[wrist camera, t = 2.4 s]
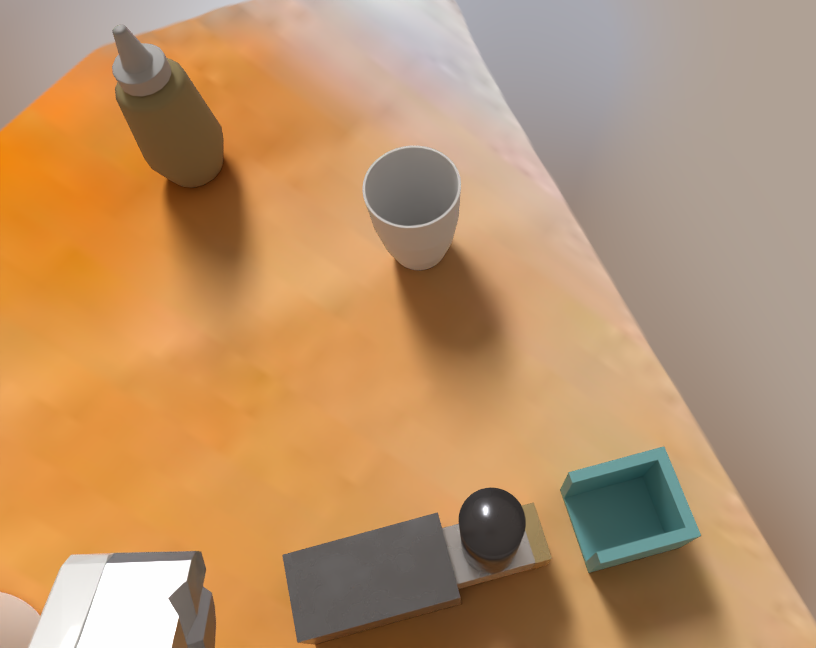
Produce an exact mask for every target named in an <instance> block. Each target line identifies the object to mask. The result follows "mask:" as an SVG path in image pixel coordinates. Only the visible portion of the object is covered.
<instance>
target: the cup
mask: <svg viewBox="0 0 816 648" xmlns="http://www.w3.org/2000/svg"><path fill="white" fill-rule="evenodd" d="M460 191H461V180H460V175H459V172H458V170H457V168H456V166H455V165H454V163H453V162H452V161H451V160H450V159H449V158H448V157H447V156H446V155H444V154H443V153H441V152H439V151H437V150H435V149H432V148H429V147H424V146H405V147H400V148H397V149H394V150H391V151H389V152H387V153H385V154H384V155H382V156H381V157H379V158H378V159H377V160H376V161H375V162H374V163H373V164H372V165H371V167H370V168H369V169H368V171H367V173H366V175H365V178H364V182H363V197H364V200H365V203H366V206H367V209H368V212H369V214H370V217H371V220H372V223H373V226H374V228H375V230H376V232H377V234H378V236H379V237H380V239H381V241H382V242H383V244H384V246H385V248H386V249H387V251H388V252H389V253H390V254H391V255H392V256H393V257H394V258H395V259H396V260H397V261H398V262H399V263H400V264H401V265H403V266H404V267H406V268H409V269H412V270H425V269H429V268H431V267H433V266H435V265H436V264H438V263H439V262H440V261H441V260H442V258H443V257H444V255H445V253H446V252H447V250H448V248H449V247H450V245H451V243H452V240H453V236H454V233H455V229H456V225H457V221H458V217H459V205H460Z"/></svg>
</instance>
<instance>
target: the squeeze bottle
mask: <svg viewBox="0 0 816 648" xmlns="http://www.w3.org/2000/svg"><path fill="white" fill-rule="evenodd" d="M113 35H114V39H115V42H116V46H117V49H118V53H119V55H118V56H117V57H116V59H115V61H114V63H113V66H112V69H113V75H114V77H115V78H116V80H117V81H118V82H117V85H116V87H115V93H116V100H117V102H118V104H119V106H120V108H121V110H122V112H123V115H124V117H125V119H126V121H127V123H128V125H129V127H130V129H131V131H132V133H133V135H134V138H135V140H136V142H137V144H138V146H139V148H140V150H141V152H142V154H143V156H144V158H145V160H146V161H147V163H148V164H149V166H150V167H151V168H152V169H153V170H154V171H156V172H158V173H159V174H161V175H163V176H164V177H166V178H167V179H169V180H171V181H172V182H174V183H176V184H178V185H180V186H182V187H191V188H194V187H198V186H202V185H205V184H206V183H208V182H209V181H211V180H213V179H214V178H215V177H216V175H217V174H218V173H219V172H220V170H221V167H222V164H223V133H222V127H221V126H220V124H219V122H218V121H217V119H216V118H215V116H214V115H213V113H212V112H211V110H210V109H209V107H208V106H207V104H206V103H205V101H204V100H203V98H202V97H201V95H200V94H199V92H198V90H197V89H196V87H195V86H194V84H193V83H192V81H191V80H190V78H189V77H188V75H187V74H186V72H185V71H184V69H183V68H182V67H181V66H180V65H179V63H177V62H175V61H173V60H171V59H168V58H166V56H165V54H164V53H163V52H162V50H161V49H160V48H159V47H157V46H155V45H152V44H142V43H140V42H139V40H138V39H137V38H136V37H135V36H134V35H133V34H132V33H131V32H130V31H129V29H128V28H127V27H126V26H125V25H117V26H116V27H115V28H114V29H113Z"/></svg>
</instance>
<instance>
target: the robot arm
mask: <svg viewBox="0 0 816 648" xmlns="http://www.w3.org/2000/svg"><path fill="white" fill-rule="evenodd" d="M205 572H206V567H205V564H204V560H203V557H202V553H201V552H199V551H185V552H140V553H107V554H79V555H70V557H69V558H68V559H67V560H66V562H65V563H64V564H63V565H62V566H61V568H60V570H59V572H58V575H57V577H56V580H55V582H54V585H53V587H52V589H51V592H50V594H49V597H48V599H47V602H46V604H45V607H44V609H43V612H42V614H41V616H40V615H39V614H38V613H37V612H36V611H35V610H34V609H33V608H32V607H31V606H30V605H29V604H27V603H26V602H24V601H23V600H21V599H19V598H17V597H15V596H13V595H10V594H6V593H2V592H0V648H215V635H216V616H215V605H214V601H213V596H212V593H211V592H210V591H209V590H207V589H206V588H204V587H203V583H204V578H205Z"/></svg>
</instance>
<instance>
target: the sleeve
mask: <svg viewBox="0 0 816 648" xmlns="http://www.w3.org/2000/svg"><path fill="white" fill-rule="evenodd" d="M283 561H284V566H285V572H286V578H287V584H288V590H289V596H290V601H291V607H292V613H293V619H294V625H295V631H296V636H297V642H298V643H305V644H318V643H322V642H326V641H329V640H333V639H336V638H340V637H344V636H347V635H351V634H354V633H358V632H362V631H365V630H369V629H373V628H376V627H380V626H383V625H387V624H391V623H394V622H398V621H401V620H405V619H409V618H412V617H416V616H419V615H423V614H427V613H430V612H434V611H438V610H441V609H445V608H448V607H452V606H456V605H459V604H462V602H461V598H460V594H459V590H458V587H457V583H456V579H455V575H454V572H453V568H452V564H451V560H450V557H449V553H448V549H447V545H446V542H445V538H444V534H443V530H442V527H441V523H440V519H439V515H438V513H434V514H431V515H427V516H423V517H420V518H416V519H412V520H409V521H405V522H401V523H398V524H394V525H390V526H387V527H383V528H379V529H376V530H372V531H368V532H365V533H361V534H357V535H354V536H350V537H346V538H343V539H339V540H335V541H332V542H328V543H324V544H321V545H317V546H313V547H310V548H306V549H302V550H299V551H295V552H291V553H288V554H284V555H283Z"/></svg>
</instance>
